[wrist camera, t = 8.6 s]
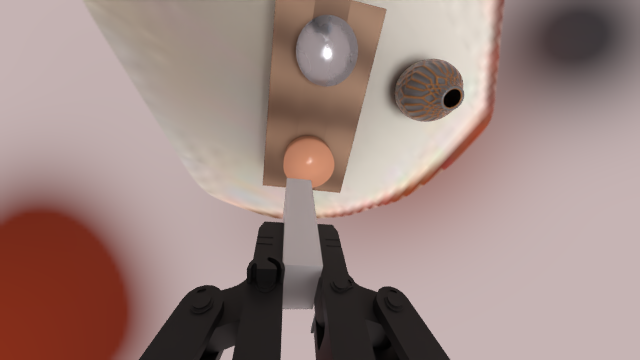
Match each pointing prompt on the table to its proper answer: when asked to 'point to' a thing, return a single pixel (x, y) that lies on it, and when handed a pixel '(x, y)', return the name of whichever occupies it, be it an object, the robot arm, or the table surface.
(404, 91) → the vase
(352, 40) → the grey plunger
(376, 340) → the robot arm
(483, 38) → the table surface
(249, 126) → the table surface
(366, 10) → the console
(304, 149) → the terracotta plunger
